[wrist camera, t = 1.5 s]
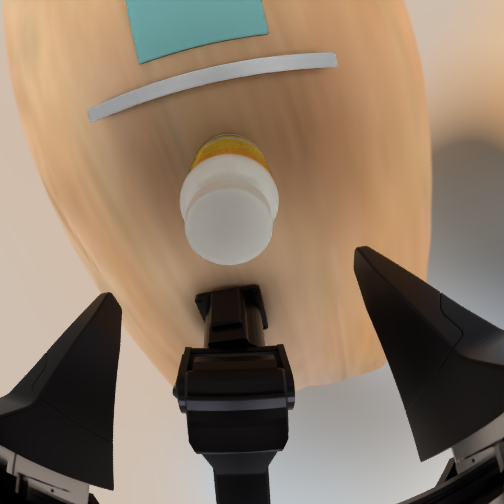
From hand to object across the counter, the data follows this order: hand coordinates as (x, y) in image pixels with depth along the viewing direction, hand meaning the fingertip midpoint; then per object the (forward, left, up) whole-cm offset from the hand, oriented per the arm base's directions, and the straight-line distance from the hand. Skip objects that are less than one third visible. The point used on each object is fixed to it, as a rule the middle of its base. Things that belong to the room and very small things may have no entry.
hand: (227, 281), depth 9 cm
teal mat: (+14, 0, -13) cm, 19 cm away
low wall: (+7, 0, -13) cm, 15 cm away
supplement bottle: (0, 0, -13) cm, 13 cm away
